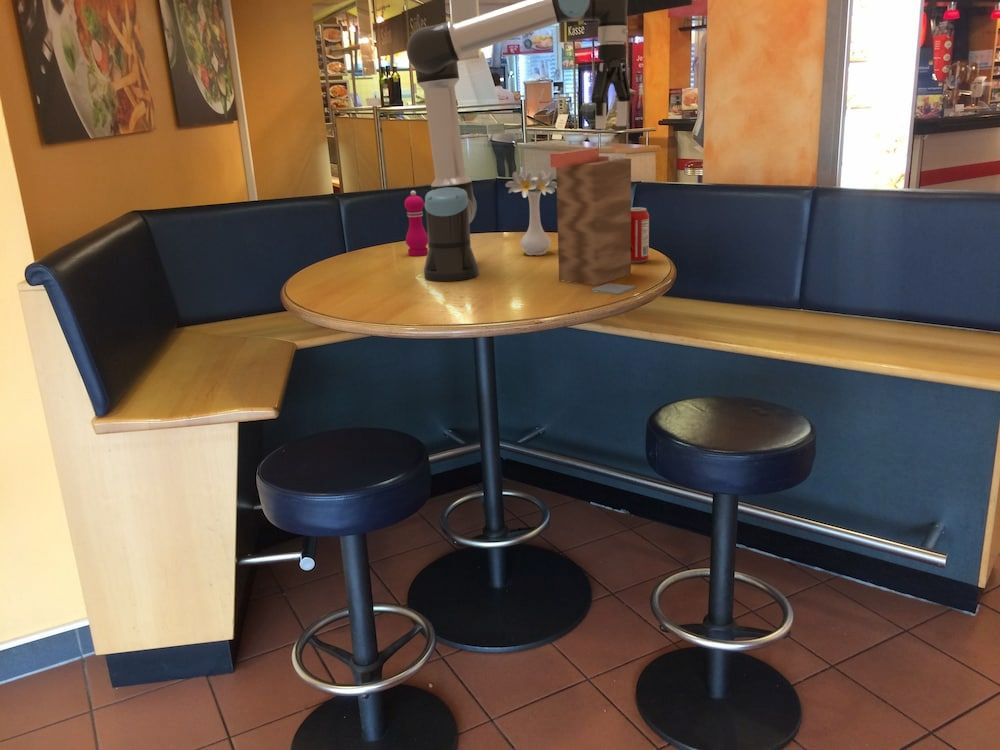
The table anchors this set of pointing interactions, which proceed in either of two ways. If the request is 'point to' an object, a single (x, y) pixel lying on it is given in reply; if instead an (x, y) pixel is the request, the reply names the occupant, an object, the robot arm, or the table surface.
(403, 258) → the table surface
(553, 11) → the robot arm
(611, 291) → the tile
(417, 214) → the pepper mill
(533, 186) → the flower vase
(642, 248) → the soda can
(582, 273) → the stand
